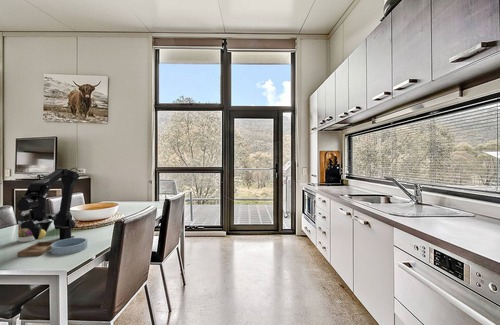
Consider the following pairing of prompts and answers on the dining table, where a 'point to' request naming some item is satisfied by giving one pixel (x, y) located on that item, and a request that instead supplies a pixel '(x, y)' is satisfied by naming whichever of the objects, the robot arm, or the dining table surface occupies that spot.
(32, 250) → the tray
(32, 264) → the dining table surface
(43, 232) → the ball
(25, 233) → the milk bottle
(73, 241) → the bowl
